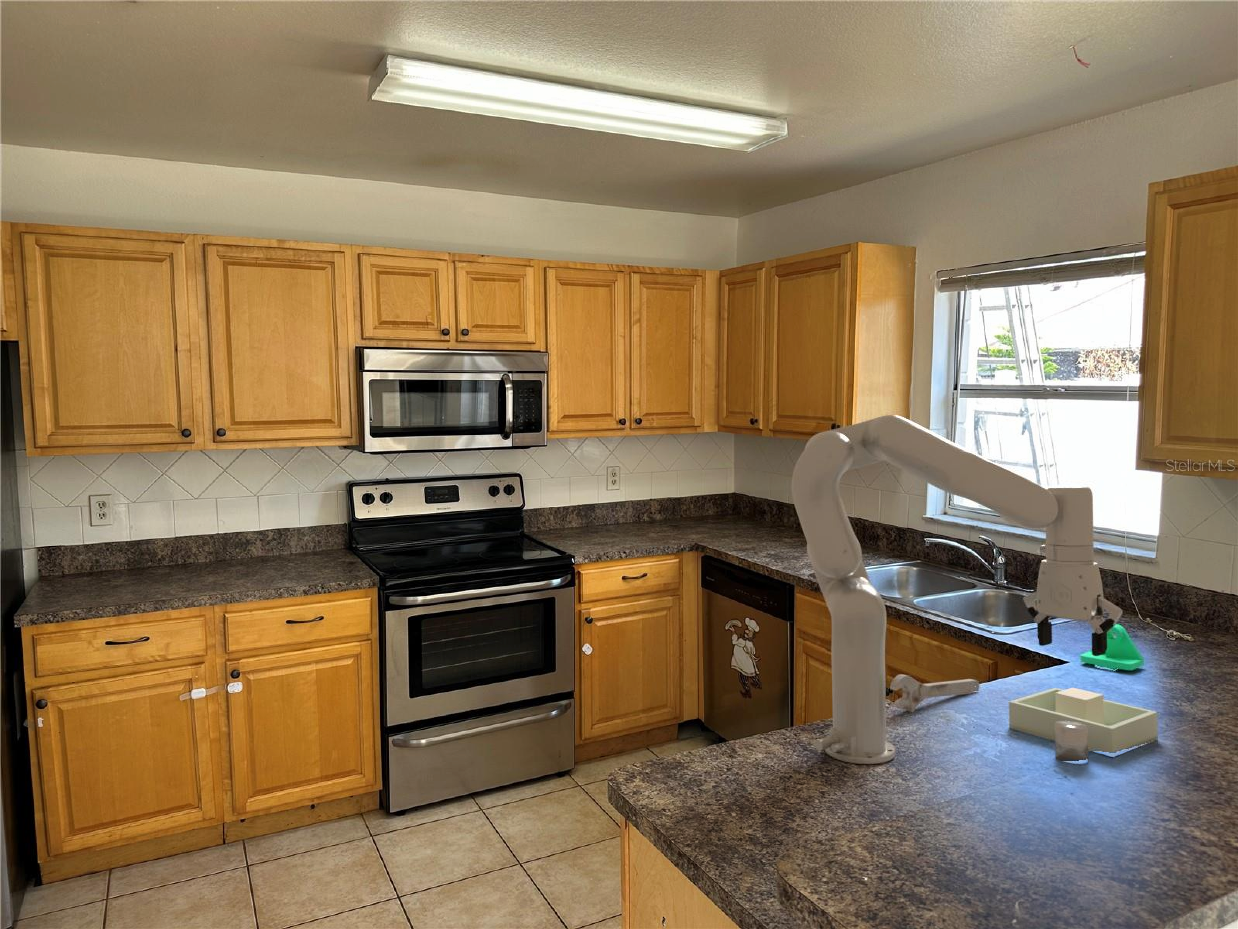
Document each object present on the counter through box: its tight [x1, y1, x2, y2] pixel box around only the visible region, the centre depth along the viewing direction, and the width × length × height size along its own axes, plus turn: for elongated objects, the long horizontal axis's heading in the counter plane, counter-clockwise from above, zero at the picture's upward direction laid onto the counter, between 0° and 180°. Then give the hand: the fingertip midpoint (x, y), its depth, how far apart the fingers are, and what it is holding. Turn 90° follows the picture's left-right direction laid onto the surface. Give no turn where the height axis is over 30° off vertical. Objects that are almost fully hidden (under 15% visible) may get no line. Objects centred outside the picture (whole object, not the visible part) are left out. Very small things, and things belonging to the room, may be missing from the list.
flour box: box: [1055, 687, 1104, 725], centre depth 164 cm, size 6×6×7 cm
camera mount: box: [1080, 623, 1145, 671], centre depth 211 cm, size 12×8×10 cm, turn 38°
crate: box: [1008, 687, 1159, 753], centre depth 164 cm, size 16×20×5 cm
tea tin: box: [1054, 721, 1089, 762], centre depth 151 cm, size 5×5×6 cm
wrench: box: [889, 673, 980, 713], centre depth 185 cm, size 8×2×30 cm
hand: (1071, 649), depth 151 cm, fingers open, 9 cm apart
